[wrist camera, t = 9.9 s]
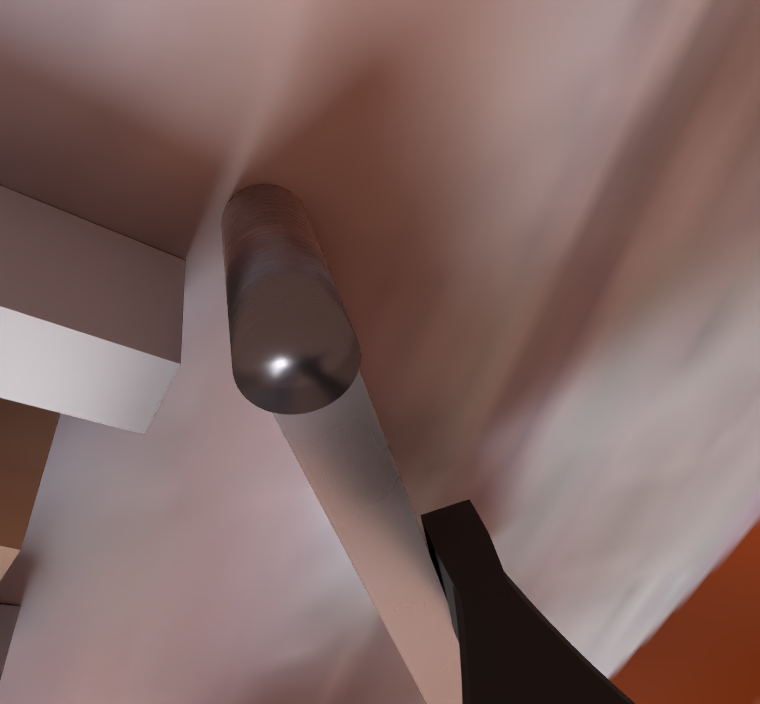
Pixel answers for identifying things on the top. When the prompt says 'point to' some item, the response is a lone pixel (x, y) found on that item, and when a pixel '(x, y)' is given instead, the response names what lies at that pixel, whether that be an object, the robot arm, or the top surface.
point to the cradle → (83, 323)
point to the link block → (20, 470)
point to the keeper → (332, 421)
